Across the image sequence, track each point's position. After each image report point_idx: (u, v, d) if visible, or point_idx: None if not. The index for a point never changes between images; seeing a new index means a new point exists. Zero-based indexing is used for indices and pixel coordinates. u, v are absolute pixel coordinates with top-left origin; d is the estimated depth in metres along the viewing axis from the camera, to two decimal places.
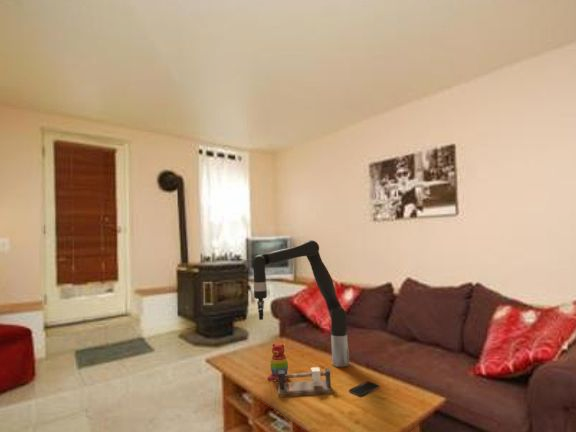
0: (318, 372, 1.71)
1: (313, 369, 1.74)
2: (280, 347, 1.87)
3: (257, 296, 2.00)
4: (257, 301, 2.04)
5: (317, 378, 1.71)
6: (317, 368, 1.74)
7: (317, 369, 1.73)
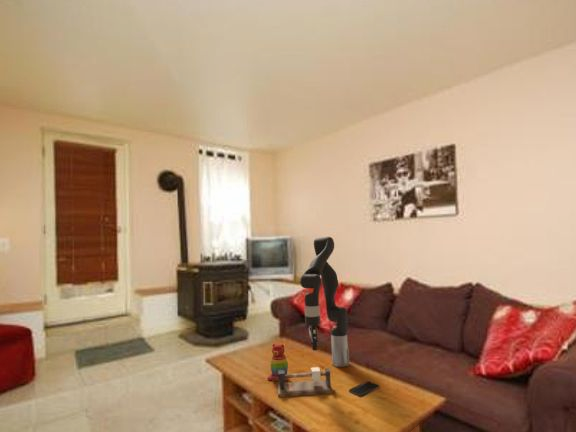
0: (318, 372, 1.71)
1: (313, 369, 1.74)
2: (280, 347, 1.87)
3: (309, 322, 1.71)
4: (309, 328, 1.75)
5: (317, 378, 1.71)
6: (317, 368, 1.74)
7: (317, 369, 1.73)
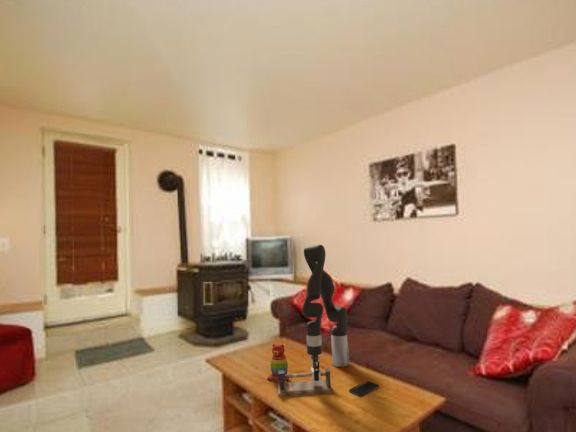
0: None
1: (313, 369, 1.74)
2: (280, 347, 1.87)
3: (311, 352, 1.71)
4: None
5: None
6: None
7: (317, 369, 1.73)
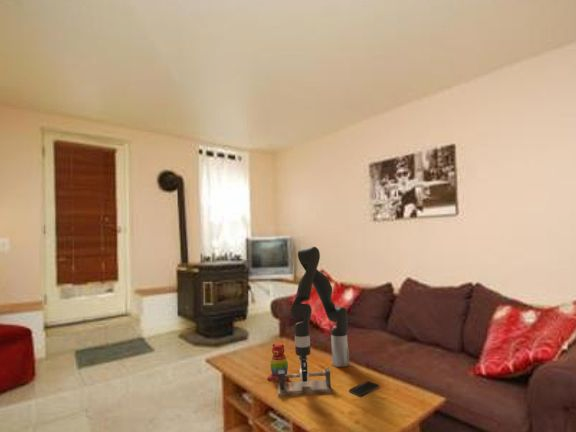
0: None
1: None
2: (280, 347, 1.87)
3: (299, 353, 1.70)
4: (299, 357, 1.74)
5: None
6: None
7: None
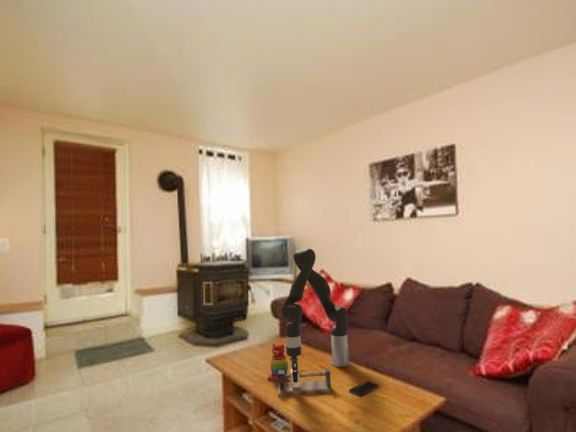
0: None
1: None
2: (280, 347, 1.87)
3: (290, 353, 1.70)
4: (290, 358, 1.74)
5: None
6: None
7: None
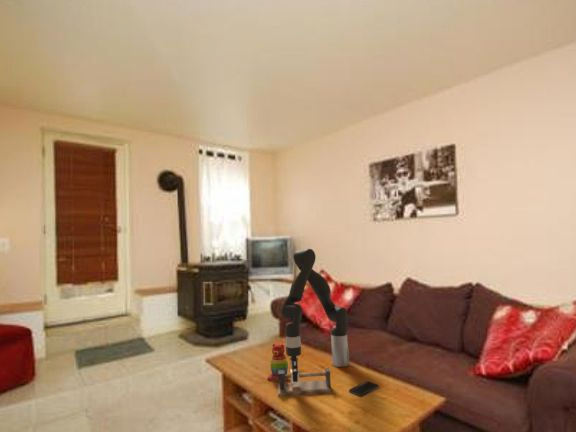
0: None
1: None
2: (280, 347, 1.87)
3: (290, 353, 1.70)
4: (290, 358, 1.74)
5: None
6: None
7: None
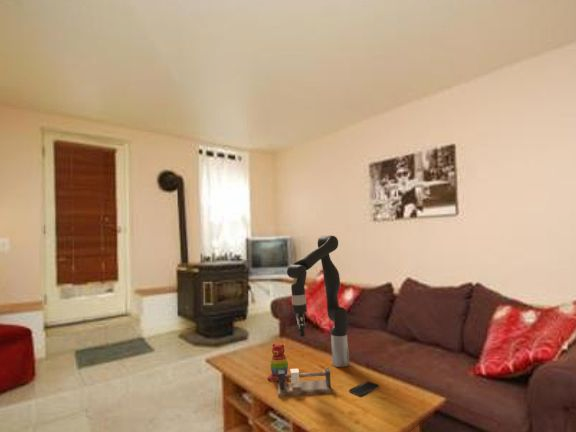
0: (297, 373, 1.70)
1: (293, 370, 1.73)
2: (280, 347, 1.87)
3: (296, 310, 1.80)
4: (296, 315, 1.84)
5: (295, 380, 1.70)
6: (296, 369, 1.74)
7: (296, 371, 1.72)
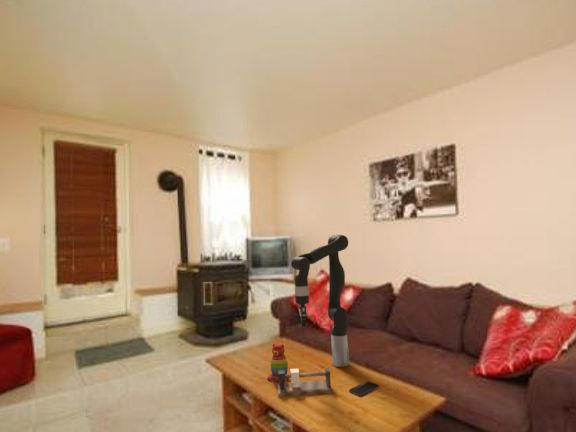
0: (297, 373, 1.70)
1: (293, 370, 1.73)
2: (280, 347, 1.87)
3: (299, 301, 1.85)
4: None
5: (295, 380, 1.70)
6: (296, 369, 1.74)
7: (296, 371, 1.72)
